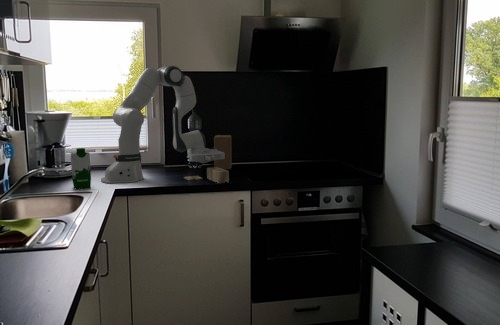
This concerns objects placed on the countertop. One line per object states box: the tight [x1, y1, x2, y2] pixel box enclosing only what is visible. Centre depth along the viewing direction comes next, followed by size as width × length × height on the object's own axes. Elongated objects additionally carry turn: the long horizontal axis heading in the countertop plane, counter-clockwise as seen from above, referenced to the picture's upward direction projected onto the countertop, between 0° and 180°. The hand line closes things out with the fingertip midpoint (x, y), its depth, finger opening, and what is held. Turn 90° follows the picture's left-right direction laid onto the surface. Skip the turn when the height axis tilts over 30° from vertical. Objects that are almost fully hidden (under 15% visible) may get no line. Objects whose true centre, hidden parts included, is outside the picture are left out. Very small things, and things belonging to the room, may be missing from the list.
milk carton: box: [70, 147, 92, 190], centre depth 244 cm, size 9×9×20 cm
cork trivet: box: [183, 175, 203, 181], centre depth 269 cm, size 8×8×1 cm
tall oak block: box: [206, 166, 230, 184], centre depth 263 cm, size 6×6×16 cm
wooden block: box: [213, 134, 233, 170], centre depth 301 cm, size 10×10×20 cm
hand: (212, 158), depth 268 cm, fingers closed
